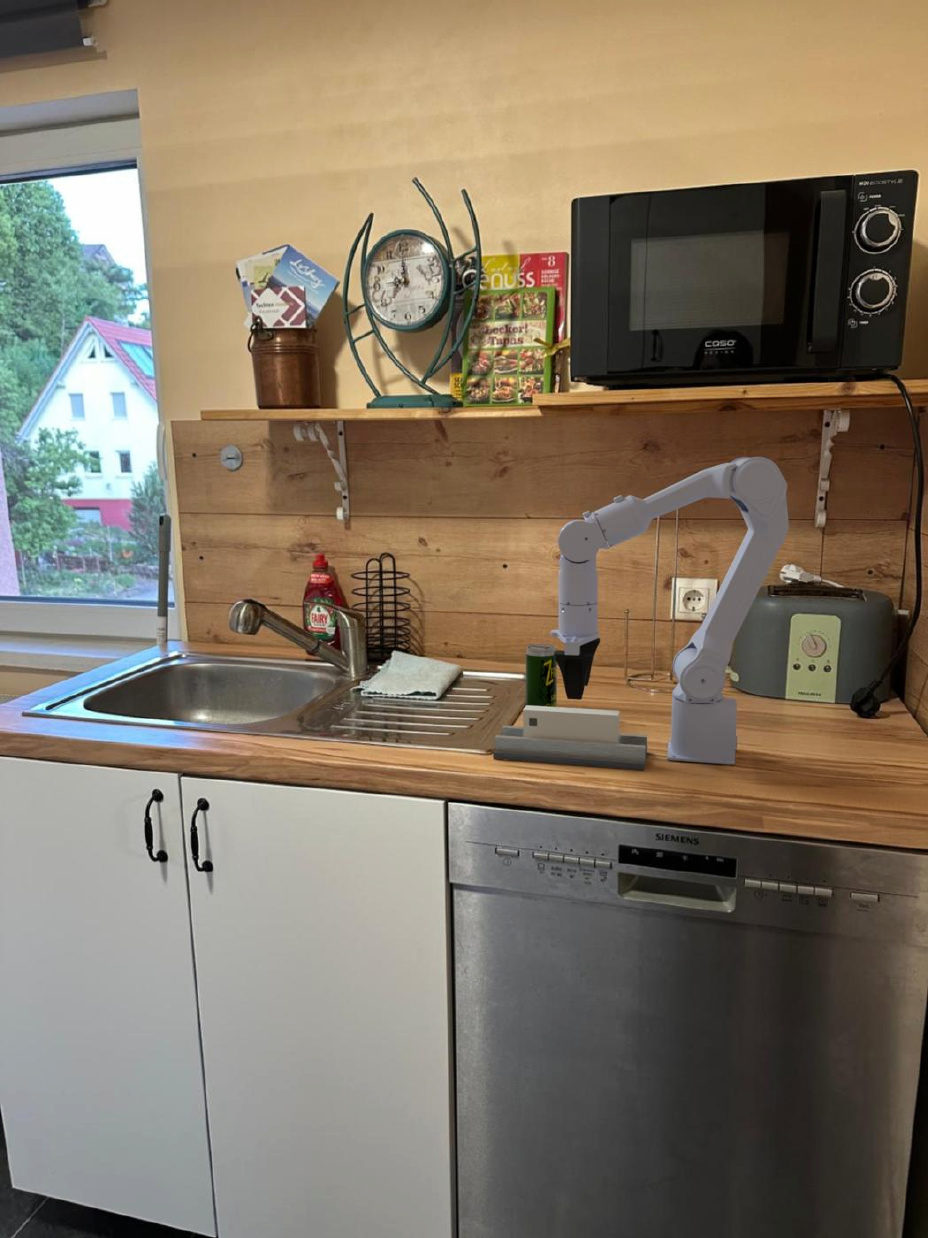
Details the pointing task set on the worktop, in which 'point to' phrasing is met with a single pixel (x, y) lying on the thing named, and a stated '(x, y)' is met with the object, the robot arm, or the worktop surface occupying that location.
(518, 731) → the track
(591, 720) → the door panel
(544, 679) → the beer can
